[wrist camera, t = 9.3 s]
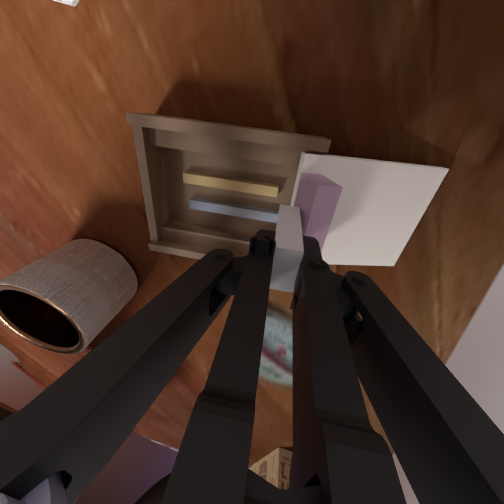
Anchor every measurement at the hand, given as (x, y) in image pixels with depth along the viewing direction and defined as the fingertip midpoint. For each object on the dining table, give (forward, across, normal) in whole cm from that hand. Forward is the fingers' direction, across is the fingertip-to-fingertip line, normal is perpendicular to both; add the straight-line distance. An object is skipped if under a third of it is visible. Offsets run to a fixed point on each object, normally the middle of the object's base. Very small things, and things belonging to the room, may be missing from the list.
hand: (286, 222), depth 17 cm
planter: (+6, -24, -14) cm, 28 cm away
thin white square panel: (+4, +6, 0) cm, 7 cm away
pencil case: (+5, -6, 0) cm, 8 cm away
